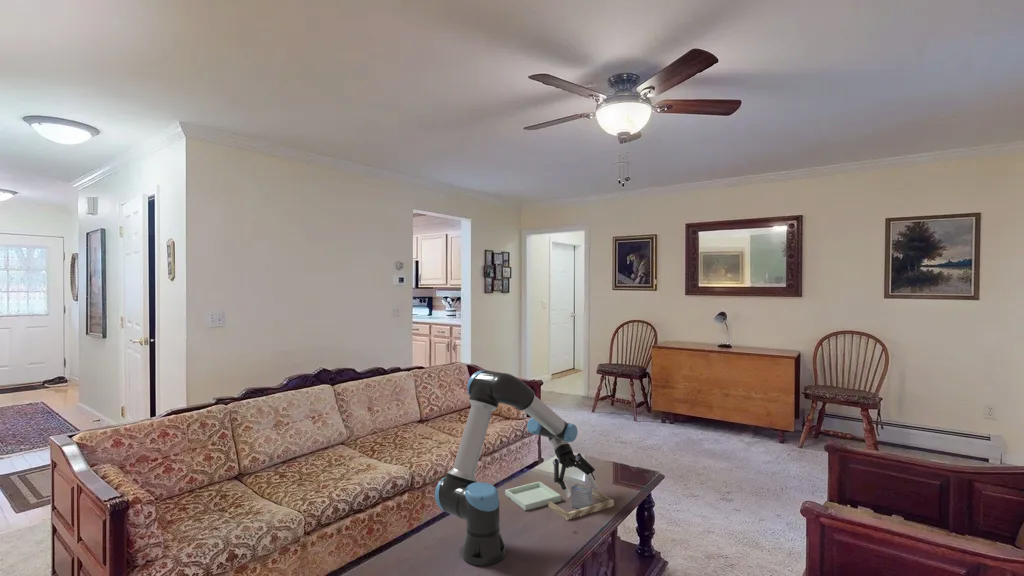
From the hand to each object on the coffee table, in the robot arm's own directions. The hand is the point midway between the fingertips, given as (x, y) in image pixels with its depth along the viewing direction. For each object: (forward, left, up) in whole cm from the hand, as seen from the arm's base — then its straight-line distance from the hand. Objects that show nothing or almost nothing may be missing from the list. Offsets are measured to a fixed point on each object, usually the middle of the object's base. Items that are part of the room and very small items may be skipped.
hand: (583, 492), depth 209 cm
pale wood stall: (-1, 0, -6) cm, 6 cm away
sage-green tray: (-14, +19, -6) cm, 24 cm away
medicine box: (-1, 0, -6) cm, 6 cm away
